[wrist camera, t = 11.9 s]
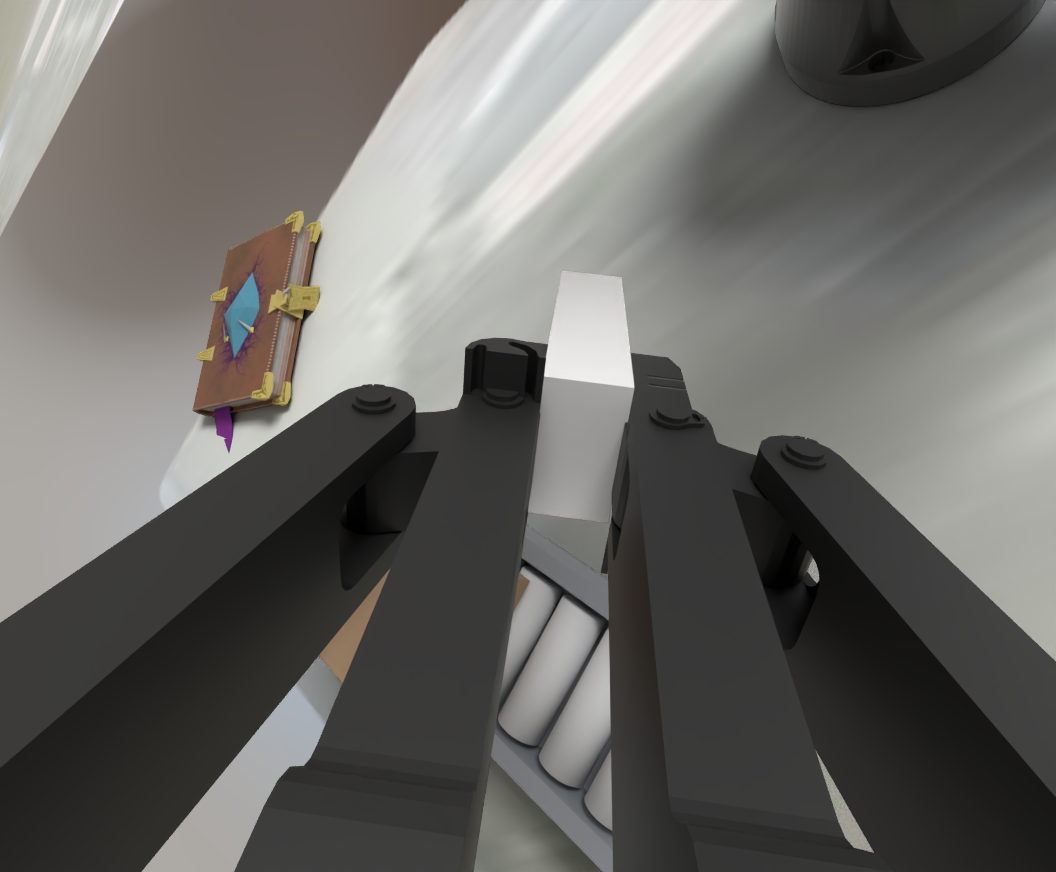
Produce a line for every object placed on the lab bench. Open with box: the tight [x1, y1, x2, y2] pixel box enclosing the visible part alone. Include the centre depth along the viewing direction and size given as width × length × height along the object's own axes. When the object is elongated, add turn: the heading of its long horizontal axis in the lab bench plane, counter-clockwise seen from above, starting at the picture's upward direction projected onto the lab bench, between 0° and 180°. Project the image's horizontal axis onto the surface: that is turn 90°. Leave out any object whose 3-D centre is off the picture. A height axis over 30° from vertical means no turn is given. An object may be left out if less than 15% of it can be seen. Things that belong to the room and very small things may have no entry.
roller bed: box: [491, 525, 613, 872], centre depth 40 cm, size 25×12×8 cm, turn 57°
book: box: [193, 211, 321, 452], centre depth 69 cm, size 16×25×5 cm, turn 176°
